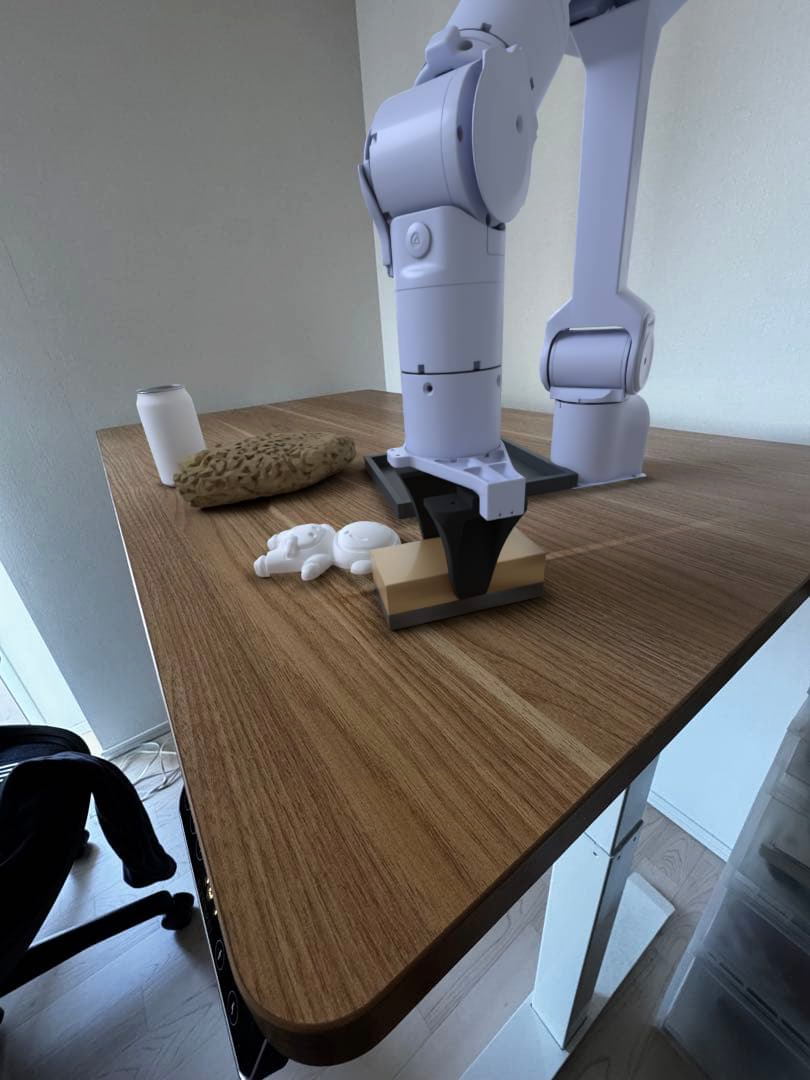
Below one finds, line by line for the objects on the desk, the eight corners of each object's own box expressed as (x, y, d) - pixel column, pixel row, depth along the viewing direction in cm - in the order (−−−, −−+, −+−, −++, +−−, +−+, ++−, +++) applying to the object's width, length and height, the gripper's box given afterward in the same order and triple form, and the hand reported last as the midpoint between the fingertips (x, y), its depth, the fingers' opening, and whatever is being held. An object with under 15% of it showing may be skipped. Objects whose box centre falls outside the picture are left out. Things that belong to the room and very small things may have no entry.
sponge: (189, 533, 48) (365, 474, 49) (155, 463, 46) (340, 402, 46) (222, 508, 61) (361, 461, 61) (197, 452, 58) (342, 404, 59)
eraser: (509, 562, 35) (511, 522, 34) (542, 596, 31) (546, 552, 30) (374, 590, 33) (369, 549, 32) (390, 631, 29) (385, 585, 27)
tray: (502, 451, 63) (502, 436, 62) (576, 492, 47) (578, 473, 47) (365, 471, 59) (363, 456, 58) (399, 524, 43) (397, 504, 43)
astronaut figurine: (281, 537, 43) (274, 508, 41) (405, 533, 42) (403, 503, 40) (245, 588, 35) (235, 554, 34) (397, 585, 34) (393, 550, 32)
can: (218, 479, 60) (192, 386, 55) (166, 491, 57) (134, 394, 52) (207, 468, 65) (183, 382, 60) (159, 479, 62) (129, 389, 57)
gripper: (358, 364, 31) (378, 539, 37) (420, 393, 18) (434, 652, 24) (455, 354, 32) (458, 524, 38) (574, 375, 20) (550, 623, 26)
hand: (455, 572), depth 31 cm, fingers closed on eraser, 5 cm apart
